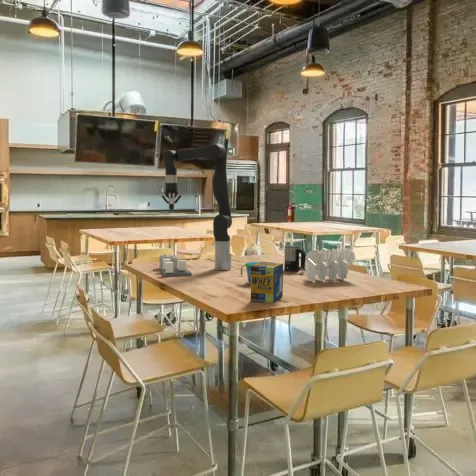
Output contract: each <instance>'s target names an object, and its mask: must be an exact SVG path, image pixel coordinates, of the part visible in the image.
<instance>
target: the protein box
mask: <svg viewBox="0 0 476 476" xmlns="http://www.w3.org/2000/svg"><path fill="white" fill-rule="evenodd" d="M259 262H260V261H259ZM283 286H284V262H269V261H261V262H260V263H258V264H255V265H253V266H251V283H250V302H255V303H256V302H257V303H265V302H266V303H267V304H274V303H276V302H277V301H278V300H280V299H281V298H282V296H283V293H284V290H283V288H284V287H283ZM279 298H280V299H279ZM276 300H277V301H276Z"/></svg>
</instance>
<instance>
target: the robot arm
mask: <svg viewBox="0 0 476 476" xmlns="http://www.w3.org/2000/svg"><path fill="white" fill-rule="evenodd" d="M202 158H204V159H205V158H206V159H213V162H214V172H213V176H212V183H211V184H212V186H211V187H212V192H213V193H212V194H213V196H214V199H215V201H216V203H217V207H218V214H217V215H215V217H214V218H213V223H212V228H213V230H212V232H213V238H214V270H217V271H218V270H219V271H228V270H229V271H230V270H232V254H231V236H230V235H229V231H228V229H230V228H231V227H232V224H233V218H232V217H233V216H232V212H231V206H230V198H229V185H228V176H227V175H228V174H227V149H226V148H225V146H224V145H222V144H221V143H220V144H219V143H211V144H208V145H204V146H201V147H190V148H181V149H178V150H176V149H175V150H172V149H166V150H165V151H163V155H162V159H163V164H164V168H165V169H164V170H165V178H164V193H163V194H162V195H161V196H160V197H161V198H162V199H163V201H164V202H165V204H168V209H169V211H173V210H174V209H175V204H177V203H178V202H179V201H180V199H181V198H182V195H181V194H179V192H178V174H177V172H178V168H177V166H176V165H175V163H174V162H176V163H177V162H181V161H193V160H197V159H202ZM167 199H168V200H167Z"/></svg>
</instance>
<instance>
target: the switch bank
mask: <svg viewBox="0 0 476 476" xmlns="http://www.w3.org/2000/svg"><path fill="white" fill-rule="evenodd" d="M160 271H161V273H162V275H163V276H164V277H165V278H167V277H171V278H172V277H192V272H191V270H189V269H188V268H187V267H186V270H181V271H179V270H178V268H173V273H166V272H165V269H160Z"/></svg>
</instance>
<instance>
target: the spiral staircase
mask: <svg viewBox="0 0 476 476" xmlns="http://www.w3.org/2000/svg"><path fill="white" fill-rule="evenodd" d="M322 248H323V249H321V250H319V248H316V249H315V248H312V249H311V250H310V251H308V252H307V253H308V254H307V255H306V260H305V270H304V271H305V275H306V278H307V279H308V280H309V281H310V282H311V281H315V280H316V277H317V278H318V279H319V280H320V281H321V280H322V281H325V280H326V276H327V278H328V280H329V279H330V280H331V281H332V280H334V281H335V280H336V279H337V278H338V279H341V281H344V279H347V278H348V277H347V276H348V275H347V274H349V271H348V267H350V266H351V263H352V262H353V261H355V260H356V255H355V252H354V251H352V250H351V249H350V247H347V248H345V247H342V249H339V248H338V247H336V248H332V249H330V248H325V247H322ZM337 276H338V277H337Z"/></svg>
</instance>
